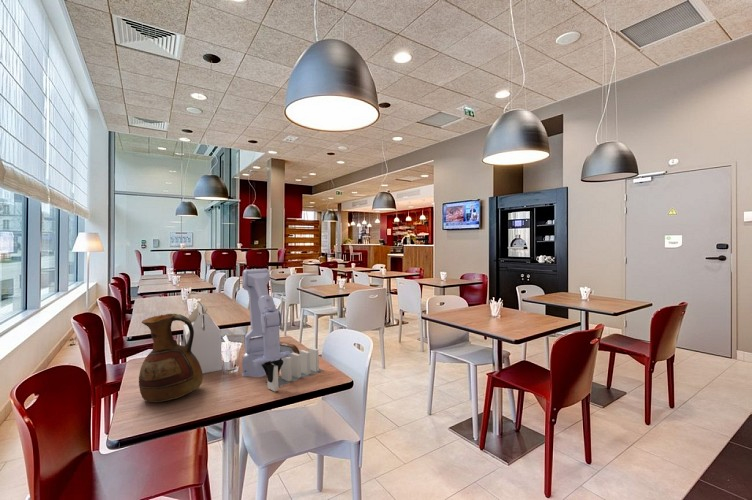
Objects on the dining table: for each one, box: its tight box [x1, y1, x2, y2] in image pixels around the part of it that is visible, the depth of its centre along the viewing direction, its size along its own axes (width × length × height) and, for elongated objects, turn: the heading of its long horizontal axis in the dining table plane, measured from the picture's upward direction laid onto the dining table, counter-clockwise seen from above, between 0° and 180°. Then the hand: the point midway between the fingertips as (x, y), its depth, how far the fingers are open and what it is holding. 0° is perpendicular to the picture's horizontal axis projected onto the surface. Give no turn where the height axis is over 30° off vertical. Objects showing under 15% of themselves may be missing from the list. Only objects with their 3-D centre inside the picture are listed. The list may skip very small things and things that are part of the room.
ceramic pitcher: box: [138, 313, 204, 403], centre depth 131 cm, size 20×20×30 cm
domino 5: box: [307, 347, 320, 372], centre depth 153 cm, size 2×5×9 cm, turn 47°
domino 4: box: [299, 349, 310, 375], centre depth 150 cm, size 2×5×9 cm, turn 47°
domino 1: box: [266, 364, 279, 392], centre depth 133 cm, size 2×5×9 cm, turn 47°
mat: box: [265, 368, 325, 388], centre depth 147 cm, size 23×8×1 cm, turn 137°
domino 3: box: [290, 352, 301, 378], centre depth 147 cm, size 2×5×9 cm, turn 47°
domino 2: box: [280, 357, 292, 381], centre depth 143 cm, size 2×5×9 cm, turn 47°
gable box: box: [182, 301, 223, 375], centre depth 163 cm, size 22×13×28 cm, turn 31°
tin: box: [280, 341, 300, 354], centre depth 167 cm, size 15×3×8 cm, turn 58°
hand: (272, 380), depth 133 cm, fingers closed on domino 1, 1 cm apart
